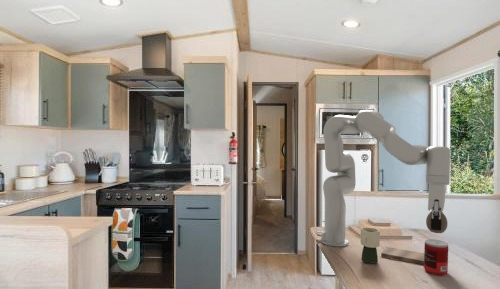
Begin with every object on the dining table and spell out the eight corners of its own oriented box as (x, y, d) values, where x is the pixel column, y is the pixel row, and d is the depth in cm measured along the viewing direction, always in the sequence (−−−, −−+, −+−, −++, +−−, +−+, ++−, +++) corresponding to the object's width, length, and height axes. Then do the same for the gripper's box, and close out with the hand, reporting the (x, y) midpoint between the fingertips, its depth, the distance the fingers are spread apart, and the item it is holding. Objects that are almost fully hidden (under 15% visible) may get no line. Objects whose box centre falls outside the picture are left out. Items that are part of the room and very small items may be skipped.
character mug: (367, 256, 137) (368, 225, 136) (384, 261, 131) (385, 229, 131) (354, 262, 129) (355, 230, 129) (371, 268, 124) (372, 234, 124)
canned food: (447, 270, 123) (448, 241, 123) (447, 277, 116) (448, 247, 116) (424, 265, 127) (425, 237, 127) (423, 272, 120) (423, 243, 120)
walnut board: (381, 256, 136) (381, 253, 136) (385, 249, 145) (385, 246, 145) (424, 264, 128) (424, 261, 128) (426, 257, 136) (426, 253, 136)
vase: (450, 235, 117) (451, 211, 117) (429, 233, 119) (430, 209, 118) (443, 230, 124) (443, 207, 124) (423, 228, 125) (423, 206, 125)
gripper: (427, 176, 130) (426, 221, 131) (424, 181, 116) (423, 231, 116) (449, 178, 126) (448, 223, 127) (449, 183, 112) (447, 234, 112)
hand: (436, 227), depth 121 cm, fingers closed on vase, 6 cm apart
